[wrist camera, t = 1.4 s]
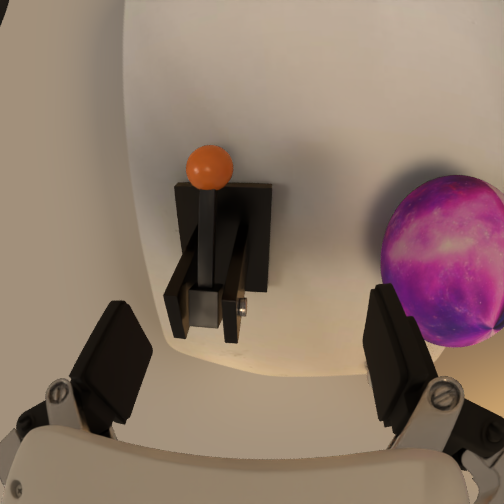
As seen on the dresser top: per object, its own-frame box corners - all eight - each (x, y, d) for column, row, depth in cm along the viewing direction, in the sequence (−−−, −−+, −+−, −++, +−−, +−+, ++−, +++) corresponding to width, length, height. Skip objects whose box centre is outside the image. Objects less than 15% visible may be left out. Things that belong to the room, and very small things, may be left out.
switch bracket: (177, 182, 27) (124, 246, 17) (271, 183, 26) (270, 252, 16) (189, 281, 33) (160, 362, 23) (267, 285, 33) (262, 372, 23)
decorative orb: (353, 279, 31) (385, 394, 19) (370, 147, 23) (459, 221, 11) (456, 275, 30) (509, 364, 18) (487, 164, 22) (580, 231, 10)
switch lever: (194, 150, 21) (181, 140, 18) (236, 150, 21) (231, 139, 18) (190, 312, 23) (179, 327, 20) (231, 315, 23) (225, 332, 20)
